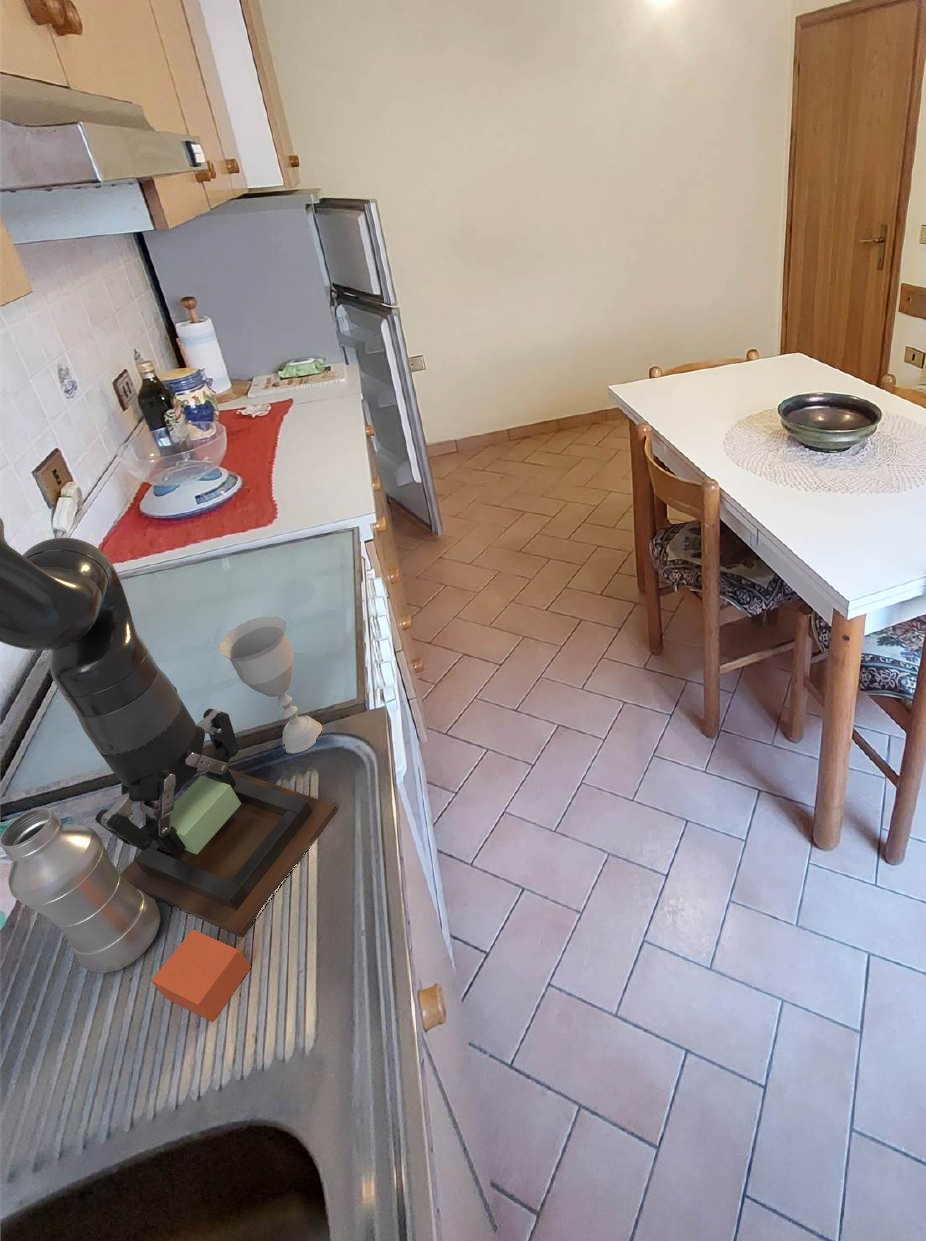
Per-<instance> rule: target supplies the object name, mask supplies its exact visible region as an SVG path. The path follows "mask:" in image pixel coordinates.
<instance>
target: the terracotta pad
mask: <svg viewBox="0 0 926 1241" xmlns="http://www.w3.org/2000/svg"><path fill="white" fill-rule="evenodd" d="M182 940H183V941H181V943H180V944H179V945H178V947H177V948H176V949H175V950H174V952H173V953H172V954H171V955H170V956H169V957H168V958H167V960H166V962H165V963H164V964H163V965H162V966H161V968H160V969H159V970H158V971H157V973H156V974H155V975H154V976H153V977H152V979H151V981H150V982H151V983H152V984H153V986H154V987H155V988H156V989H157V990H158V991H159V992H160V993H161V994H162V995H163V997H164V998H165V999H167V1001H170V1002H172V1003H174V1004H176V1005H178V1006H179V1007H182V1008H184V1009H185V1010H188V1011H190V1012H192V1013H194V1014H195V1015H198V1016H199V1017H200V1018H204V1019H205V1020H207V1021H209V1022H210V1023H211V1022H212V1023H213V1022H214V1021H215V1020H216V1018H217V1017H218V1016H219V1014H220V1013H221V1012H222V1010H223V1008H224V1007H225V1006H226V1004H227V1003H228V1001H229V1000H230V999H231V997H232V996H233V994H234V993H235V992H236V990H237V989H238V988H239V986H240V985H241V983H242V982H243V980H244V979H243V977H244V976H245V975H246V974H247V975H248V973H249V972H250V971H251V969H252V967H251V966H250V964H249V963H248V961H247V960H246V959H245V957H244V956H243V955H242V953H241V952H240V951H239V949H237V948H235V947H233V946H230V945H229V944H227V943H224V942H222V941H220V940H217V939H215V938H214V937H211V936H209V935H207V934H205V933H202V932H200V931H197V930H195V929H191V931H190V932H189V933H188V934H187V935H186V937H185V938H184V939H182ZM250 968H251V969H250ZM248 971H249V972H248ZM247 975H246V976H247ZM246 976H245V977H246ZM245 977H244V978H245ZM242 979H243V980H242ZM241 981H242V982H241ZM240 982H241V983H240ZM234 991H235V992H234Z"/></svg>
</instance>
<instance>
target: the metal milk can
mask: <svg viewBox="0 0 926 1241" xmlns="http://www.w3.org/2000/svg"><path fill="white" fill-rule="evenodd" d="M97 832H98V831H96V830H95V829H94V828H91V827H89V826H86V825H83V824H72V823H65V824H64V823H63V820H62V819H61V818H60V817H59V816H57V815H56V814H55V812H53V810H51V809H50V808H49V807H37V808H34V809H30V810H29V811H26V812H24V813H23V814H21V815H20V816H18V817H16V818H15V819H14V820H13V821H11V822H10V824H8V825H7V826H6V827H5V829H4V830H3V831H2V833H1V835H0V847H1V848H2V850H3V851H4V852H5V855H6V857H7V858H8V859H9V860H10V861H12V863H11V865H10V870H9V873H8V888H9V891H10V894H11V896H12V897H13V898H15V900H17V901H18V902H20V903H21V904H23V905H25V906H26V907H28V908H30V909H31V910H33V911H35V912H37V913H38V914H40V915H42V916H44V917H45V918H46V919H47V920H49V921H50V922H51V923H52V924H53V925H55V926H56V927H57V928H58V929H59V930H60V932H61V933H62V934H63V936H64V937H65V938H66V940H67V942H68V943H69V944H70V946H71V948H72V951H73V954H74V955H75V957H76V959H77V961H78V963H79V965H81V967H83V968H84V969H86V970H88V971H91V972H93V973H96V974H109V973H113V972H117V971H119V970H122V969H124V968H126V967H128V966H130V965H131V964H132V963H134V962H135V961H136V960H138V959H139V958H140V957H141V956H142V955H143V954H144V953H145V952H146V951H147V950H148V949H149V947H150V946H151V945H152V943H153V942H154V940H155V938H156V936H157V934H158V931H159V927H160V925H161V912H160V909H159V907H158V904H157V903H156V901H155V899H154V898H152V897H150V896H148V895H147V894H145V893H144V892H142V891H140V890H138V889H136V888H135V887H134V886H133V885H131V884H130V883H129V882H128V881H127V880H126V879H124V878H123V877H122V876H121V873H120V872H119V870H118V868H117V867H116V865H115V864H114V863H113V861H112V860H111V858H110V856H109V853H108V852H107V849H106V847H105V845H104V843H103V841H102V838H101V837H100V836H99V834H98V833H97Z"/></svg>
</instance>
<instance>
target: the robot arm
mask: <svg viewBox="0 0 926 1241" xmlns="http://www.w3.org/2000/svg"><path fill="white" fill-rule="evenodd" d="M0 643H2V644H5V645H7V646H11V647H14V648H18V649H22V650H30V651H51V656H50V666H49V667H50V670H49V671H50V676H51V678H52V680H53V682H54V684H55V686H56V687H57V689H58V690H59V692H60V693H61V694H62V695H63V697H64V699H65V701H67V703H68V705H69V706H70V707H71V709H72V710H73V711H74V712H75V714H76V717H77V718H78V721H79V724H80V726H81V728H82V730H83V731H84V734H86V736H87V737H88V739H89V741H90V742H91V743H92V744H93V746H94V747H95V748H96V750H97V751H98V753H99V754H100V755H101V757H102V758H103V760H104V761H105V762H106V763H107V765H108V767H109V768H110V770H111V771H112V772H113V774H114V775H115V777H116V778H117V779H118V780H119V782H120V784H121V788H120V789H121V790H120V791H121V796H120V797H119V798H118V799H117V800H116V801H115V803H114V804H112V806H111V807H110V808H109V809H107V808H104V809H103V808H102V809H101V810H100V811H99V812H98V813H97V814H96V816H95V822H96V823H97V824H99V825H100V826H101V827H102V828H104V829H105V830H107V831H108V832H109V833H111V834H112V835H113V836H114V837H116V838H117V839H119V840H120V841H121V842H123V843H124V844H126V845H128V846H132V847H135V848H137V849H138V850H140V851H142V850H143V851H144V850H146V849H148V848H149V847H150V846H151V844H152V841H155V842H156V843H157V845H158V846H159V848H160V849H161V850H164V851H166V852H169V853H172V854H174V853H175V852H176V851H177V852H180V853H181V852H182V851H183V850H184V849H185V848H186V846H185V845H184V843H183V842H182V841H181V839H180V838H179V836H178V835H177V833H176V832H177V831H176V829H175V828H174V827H172V826H171V812H173V811H174V803H175V796H176V795H177V794H178V793H179V792H180V791H181V789H182V788H183V786H184V785H185V784H186V783H188V781H190V780H191V779H193V778H194V777H195V775H196V774H198V773H199V771H198V769H199V770H203V771H206V772H205V773H204V774H205V777H208V778H210V779H212V780H215V781H218V782H221V783H225V784H228V785H230V786H231V787H232V789H233V791H234V792H235V790H234V787H235V786H236V784H235V780H234V778H233V776H232V775H231V773H230V771H229V770H228V769H229V762H230V760H231V758H235V757H236V756H237V755H238V753H239V751H240V747H239V743H238V741H237V737H236V734H235V731H234V728H233V725H232V724H233V723H232V720H231V718H230V715H229V713H227V712H224V711H221V710H217V709H214V708H207V709H206V710H205V711H204V712H203V715H202V716H203V719H201V720H200V721H199V722H198V723H197V724H196V721H194V720H195V719H193V717H192V715H191V713H190V712H189V710H188V709H187V707H186V704H185V703H184V702H183V699H182V698H181V697H180V694H178V689H177V687H176V686H175V685H174V684H173V683H172V681H171V680H170V678H169V677H168V676H167V675H166V674H165V673H164V672H163V671H162V669H161V668H160V666H158V664H157V662H156V661H155V659H154V657H153V655H152V654H151V652H150V651H149V649H148V647H147V645H146V644H145V642H144V640H143V639H142V638H141V636H140V635H139V634H138V632H137V630H136V626H135V624H134V619H133V615H132V611H131V608H130V605H129V601H128V599H127V595H126V593H125V590H124V586H123V584H122V582H121V579H120V576H119V573H118V572H117V570H116V568H115V566H114V564H113V563H112V562H111V560H110V559H109V557H107V555H106V554H105V553H104V552H103V551H102V550H101V549H99V548H98V547H97V546H95V545H94V544H92V543H90V542H87V541H85V540H82V539H78V538H74V537H55V538H50V539H46V540H43V541H40V542H38V543H37V544H35V545H33V546H32V547H30V548H29V549H27V550H26V551H25V552H24V553H22V554H21V553H20V552H19V551H17V550H16V549H14V548H13V547H11V546H10V545H9V544H8V542H7V540H6V537H5V524H4V521H3V518H1V517H0ZM206 734H208V735H209V738H210V742H211V745H212V748H213V751H214V752H213V754H212V755H211V757H209V756H206V755H203V749H204V744H205V738H206ZM134 802H135V803H136V802H137V803H138V804H139V806H138V808H139V810H140V811H141V813H142V827H138V825H136V824H135V823H134V822H132V821H134V819H135V816H134V814H133V810H132V805H133V804H134Z"/></svg>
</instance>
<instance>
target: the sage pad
mask: <svg viewBox="0 0 926 1241" xmlns="http://www.w3.org/2000/svg"><path fill="white" fill-rule="evenodd" d="M240 805H241V802H240V801H239V799H238V797H237V796H236V794H235V792H234V791H233V789H232V787H231V786H230V785H228V784H225V783H221V782H218V781H215V780H212V779H210V778H208V777H207V776H206V775H202V774H201V775H200V776H198V778H196V780H195V781H194V782H193V783H192V784H191V785H190V786H189V787H188V788H187V789H186V790H185V791H184V792H183V793H182V794H181V795H180V796H179V798H177V800H175V801H174V811H173V812H171V826H172V827H174V828H175V829H176V831H177V832H176V833H177V835H178V836H179V838H180V839H181V841H182V842H183V843H184V845H185V846H186V848H185V849H184V850H187V851H189V852H192V853H194V854H198V853H199V852H200V851H201V850H202V848H203V847H204V846H205V845H206V844H207V843H208V842H209V840H210V839H211V838H212V837H213V836H214V835H215V834H216V832H217V831H218V830H219V829H220V828H221V827H222V826H223V824H224V823H225V822H226V821H227V820H228V819H229V818H230V816H231V815H232V814H233V813H234V812H235V811H236V810H237V808H238V807H239V806H240Z"/></svg>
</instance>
